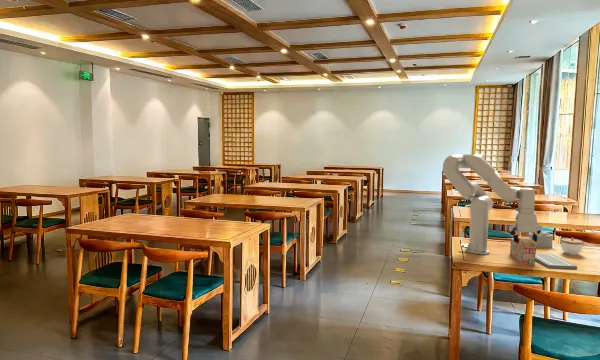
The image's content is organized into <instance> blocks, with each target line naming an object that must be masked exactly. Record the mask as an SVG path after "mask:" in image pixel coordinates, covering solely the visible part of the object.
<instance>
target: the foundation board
mask: <svg viewBox="0 0 600 360" xmlns="http://www.w3.org/2000/svg"><path fill="white" fill-rule="evenodd" d="M535 262H537V263H539V264H540V265H542V266H544V267H545V268H548V269H565V270H566V269H567V270H578V265H576V264H574V263H572V262H570V261H567V260H566V259H564V258H562V257H560V256H557V255H555V254H554V253H551V252H536V254H535Z"/></svg>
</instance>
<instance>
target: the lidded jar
mask: <svg viewBox="0 0 600 360" xmlns="http://www.w3.org/2000/svg"><path fill="white" fill-rule="evenodd" d="M560 241H561V242H560V247H561V249H562V251H563V252H564V254H566V255H570V256H577V255H578V254H580V253H581V252H582V250H583V246H584V241H583V240H581V239H577V238H574V237H571V238H568V237H567V238H564V237H563V238H561V240H560Z"/></svg>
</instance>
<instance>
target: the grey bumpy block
mask: <svg viewBox="0 0 600 360" xmlns="http://www.w3.org/2000/svg"><path fill="white" fill-rule="evenodd" d="M532 235H533V233H532V232H528V236H527V237H529V238H531V239H532ZM553 238H554V235H553V234H551V233H549V232H547V231H545V230H544V231H543V230H541V232H540V233H539V234H538V236H537V245H536V248H553V241H554V240H553Z"/></svg>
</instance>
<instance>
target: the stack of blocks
mask: <svg viewBox="0 0 600 360" xmlns="http://www.w3.org/2000/svg"><path fill="white" fill-rule="evenodd" d="M513 238H514V237H511V238H510V248H509V249H510V250H509V255H511V256H512V257H513V258H514V259H515V260H517V262H519V263H520V264H521V265H527V266H535V265H536V264H535V263H536V261H535V254H536V253H537V247H536V245H537V243H536V242H535V241H534V240H532V239H531V238H529V237H528V236H518V243H516V242H514V240H513Z"/></svg>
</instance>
